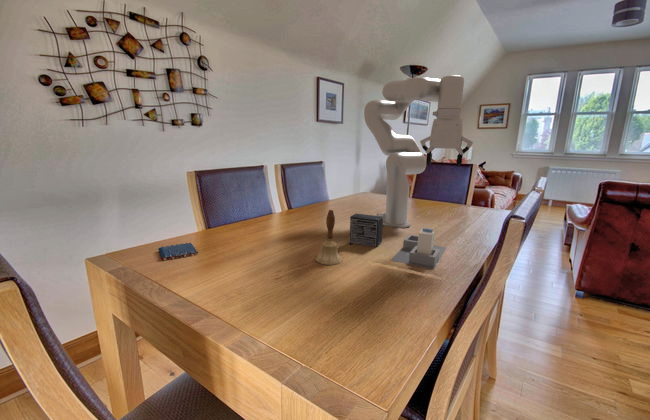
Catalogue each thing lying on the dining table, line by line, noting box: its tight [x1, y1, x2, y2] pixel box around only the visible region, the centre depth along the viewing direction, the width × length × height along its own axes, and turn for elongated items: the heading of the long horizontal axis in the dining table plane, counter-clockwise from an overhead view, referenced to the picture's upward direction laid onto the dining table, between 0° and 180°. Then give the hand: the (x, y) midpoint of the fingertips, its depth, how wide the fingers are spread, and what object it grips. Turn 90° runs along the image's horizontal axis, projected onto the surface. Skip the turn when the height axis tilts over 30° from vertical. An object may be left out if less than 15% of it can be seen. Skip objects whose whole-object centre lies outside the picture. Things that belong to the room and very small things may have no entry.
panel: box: [390, 233, 447, 270], centre depth 102 cm, size 13×22×4 cm, turn 150°
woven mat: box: [157, 242, 199, 262], centre depth 101 cm, size 10×11×2 cm
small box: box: [348, 213, 384, 248], centre depth 112 cm, size 11×6×10 cm, turn 65°
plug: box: [417, 227, 436, 256], centre depth 96 cm, size 4×4×10 cm
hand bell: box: [315, 209, 343, 266], centre depth 96 cm, size 8×8×16 cm
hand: (443, 165), depth 111 cm, fingers open, 9 cm apart
